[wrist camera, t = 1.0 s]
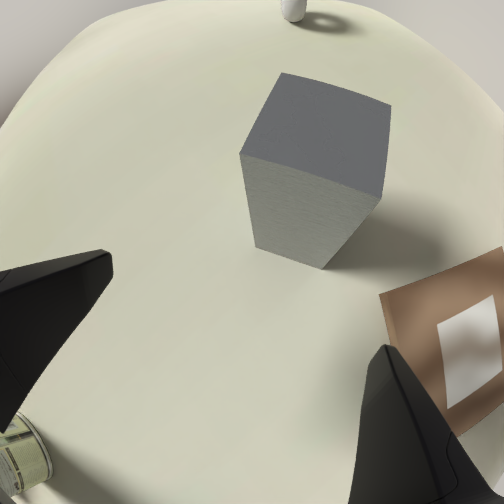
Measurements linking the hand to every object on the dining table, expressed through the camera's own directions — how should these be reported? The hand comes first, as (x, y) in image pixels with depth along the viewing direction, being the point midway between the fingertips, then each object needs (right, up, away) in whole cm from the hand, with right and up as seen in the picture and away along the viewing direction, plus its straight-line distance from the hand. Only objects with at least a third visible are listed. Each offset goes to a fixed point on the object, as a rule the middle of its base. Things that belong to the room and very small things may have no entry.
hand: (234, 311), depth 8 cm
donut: (+7, +40, +24) cm, 47 cm away
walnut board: (+20, -7, +10) cm, 24 cm away
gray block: (+4, +4, +14) cm, 15 cm away
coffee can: (-28, -23, +9) cm, 37 cm away
